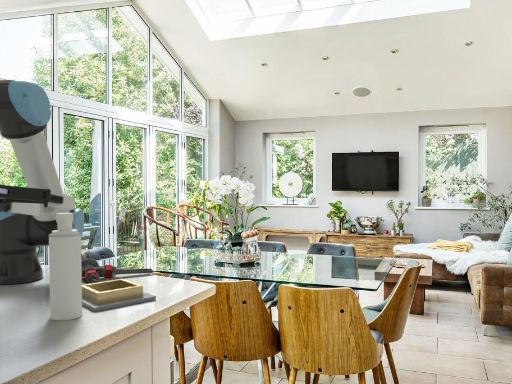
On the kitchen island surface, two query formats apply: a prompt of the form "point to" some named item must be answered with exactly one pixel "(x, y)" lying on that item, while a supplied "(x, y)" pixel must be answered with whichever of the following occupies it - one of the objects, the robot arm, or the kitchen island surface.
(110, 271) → the power drill
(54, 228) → the robot arm
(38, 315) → the kitchen island surface
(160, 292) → the kitchen island surface
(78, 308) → the white bottle
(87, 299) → the flange plate
